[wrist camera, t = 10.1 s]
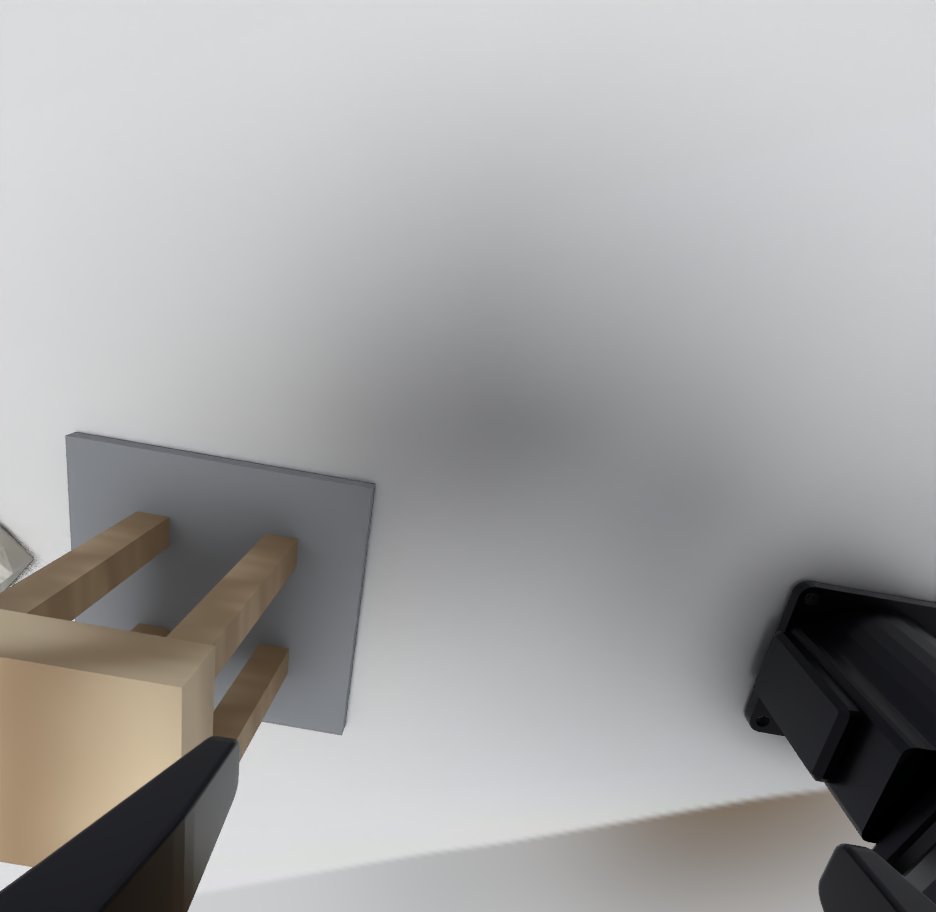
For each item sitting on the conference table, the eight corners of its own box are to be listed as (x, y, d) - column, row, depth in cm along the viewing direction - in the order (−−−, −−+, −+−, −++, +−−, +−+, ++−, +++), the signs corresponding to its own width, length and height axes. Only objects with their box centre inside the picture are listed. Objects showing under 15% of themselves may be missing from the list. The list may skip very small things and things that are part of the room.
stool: (304, 534, 20) (181, 687, 12) (291, 679, 21) (179, 891, 14) (131, 505, 20) (-103, 639, 12) (134, 652, 21) (-67, 849, 14)
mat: (375, 484, 19) (372, 488, 19) (345, 725, 23) (341, 735, 22) (76, 432, 19) (65, 435, 19) (87, 681, 22) (78, 690, 22)
